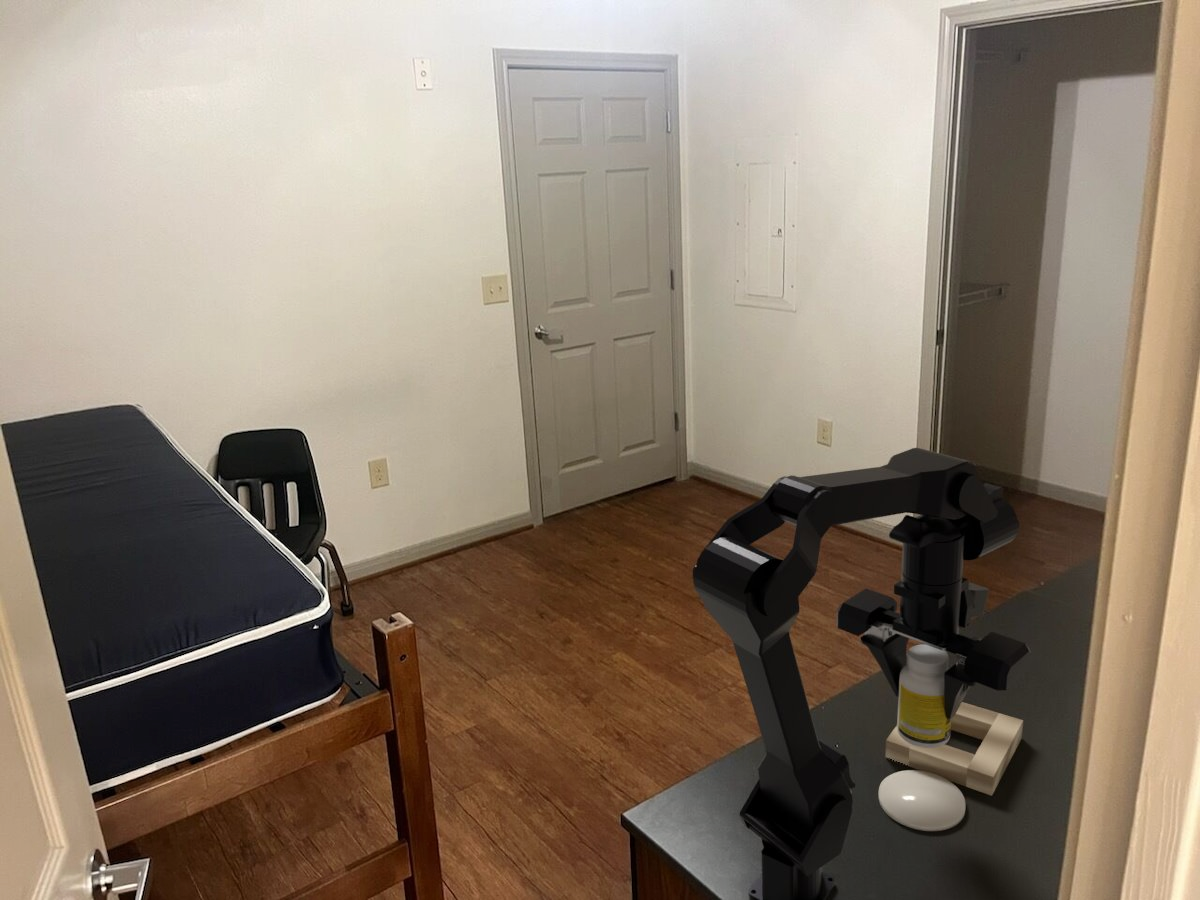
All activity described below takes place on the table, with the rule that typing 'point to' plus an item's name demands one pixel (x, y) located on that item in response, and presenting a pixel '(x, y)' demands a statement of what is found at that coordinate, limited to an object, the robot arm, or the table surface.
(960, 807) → the ceramic coaster
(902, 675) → the supplement bottle
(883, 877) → the table surface
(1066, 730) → the table surface
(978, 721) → the frame
